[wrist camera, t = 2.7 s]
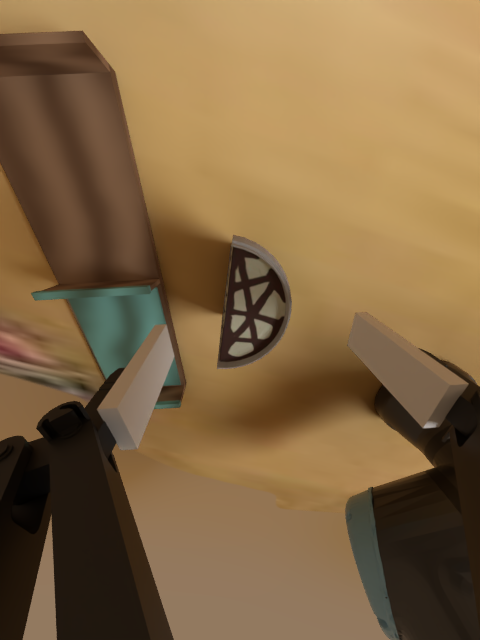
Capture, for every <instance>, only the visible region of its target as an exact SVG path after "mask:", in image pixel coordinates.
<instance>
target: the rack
mask: <svg viewBox="0 0 480 640" xmlns="http://www.w3.org/2000/svg"><path fill="white" fill-rule="evenodd" d="M0 163H1V165H2V167H3V169H4V171H5V173H6V175H7V177H8V179H9V181H10V184H11V186H12V188H13V190H14V192H15V194H16V196H17V198H18V200H19V202H20V204H21V206H22V208H23V211H24V213H25V215H26V217H27V219H28V221H29V223H30V225H31V227H32V229H33V231H34V233H35V235H36V238H37V240H38V242H39V244H40V246H41V248H42V250H43V252H44V254H45V256H46V258H47V260H48V263H49V265H50V267H51V269H52V271H53V273H54V275H55V277H56V279H57V281H58V283H59V285H56V286H53V287H51V288H48V289H45V290H43V291H36V292H33V293H31V294H32V296H33V298H34V300H52V299H66V300H67V302H68V304H69V306H70V308H71V310H72V312H73V315H74V317H75V319H76V321H77V323H78V325H79V327H80V329H81V331H82V333H83V335H84V337H85V339H86V342H87V344H88V346H89V348H90V350H91V352H92V354H93V356H94V358H95V360H96V362H97V364H98V366H99V369H100V371H101V373H102V375H103V377H104V379H105V381H106V379H107V378H108V377H109V375H110V374H112V373H113V372H114V371H116V370H117V369H118V368H126V366H127V365H128V364H129V362H130V361H131V359H132V358H133V356H134V355H135V353H136V352H137V350H138V349H139V348H140V346H141V345H142V343H143V342H144V340H145V339H146V337H147V336H148V335H149V333H150V332H151V330H152V329H153V327H154V326H155V325H162V324H166V325H167V329H168V333H169V336H170V340H171V344H172V348H173V352H174V359H173V361H172V364H171V366H170V369H169V371H168V374H167V376H166V379H165V382H164V384H163V387H162V389H161V392H160V394H159V397H158V399H157V402H156V404H155V407H154V409H163V408H179V407H180V406H181V401H182V398H183V394H184V390H185V387H186V379H185V375H184V370H183V366H182V362H181V357H180V353H179V349H178V344H177V340H176V336H175V331H174V327H173V322H172V318H171V314H170V309H169V305H168V301H167V296H166V292H165V288H164V283H163V279H162V275H161V270H160V266H159V262H158V257H157V253H156V248H155V244H154V240H153V235H152V231H151V227H150V222H149V218H148V214H147V209H146V205H145V201H144V196H143V192H142V188H141V183H140V179H139V174H138V170H137V166H136V161H135V157H134V153H133V148H132V144H131V140H130V135H129V131H128V127H127V122H126V118H125V114H124V109H123V105H122V101H121V96H120V92H119V87H118V83H117V79H116V74H115V71H114V70H113V69H112V67H111V66H110V65H109V64H108V62H107V61H106V60H105V58H104V57H103V56H102V55H101V53H100V52H99V51H98V50H97V48H96V47H95V46H94V45H93V43H92V42H91V41H90V40H89V38H88V37H87V36H86V34H85V33H84V32H83V31H66V32H41V33H17V34H0Z"/></svg>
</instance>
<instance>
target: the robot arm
mask: <svg viewBox="0 0 480 640" xmlns="http://www.w3.org/2000/svg"><path fill="white" fill-rule="evenodd" d="M347 346H348V347H349V348H350V349H351V350H352V351H353V352H354V353H355V354H356V355H357V356H358V358H359V359H360V360H361V361H362V362H363V363H364V364H365V365H366V366H367V367H368V369H369V370H370V371H371V372H372V373H373V374H374V375H375V376H376V377H377V378H378V380H379V381H380V382H381V383H382V384H383V386H382V388H381V389H380V390H379V392H378V394H377V396H376V399H375V409H376V411H377V413H378V414H379V415H380V417H381V418H382V419H383V421H384V422H385V423H386V424H387V425H388V426H389V427H391V428H392V429H394V430H396V431H397V432H399V433H400V434H401V435H402V436H403V437H404V438H406V439H407V440H408V441H409V442H410V443H412V444H413V445H414V446H415V447H416V448H418V449H419V450H420V451H421V452H422V453H423V454H424V455H425V456H426V458H427V459H428V460H429V461H430V462H431V464H432V465H433V466H434V467H435V468H432V469H429V470H426V471H423V472H420V473H417V474H414V475H411V476H408V477H405V478H401V479H398V480H395V481H392V482H389V483H386V484H383V485H380V486H377V487H374V488H373V487H370V488H368V490H366V491H364V492H361V493H359V494H357V495H354V496H352V497H350V498H349V499H348V501H347V503H346V508H345V515H346V523H347V529H348V534H349V538H350V543H351V547H352V551H353V554H354V558H355V561H356V564H357V568H358V571H359V574H360V577H361V580H362V583H363V586H364V589H365V592H366V594H367V597H368V600H369V602H370V605H371V607H372V610H373V612H374V614H375V615H376V616H377V619H378V621H379V624H380V627H381V628H382V630H383V632H384V633H385V635H386V636H387V637H388V638H389V639H391V640H480V387H479V386H478V385H477V383H476V382H475V380H474V379H473V378H472V377H471V376H470V375H469V374H468V373H466V372H465V371H463V370H462V369H460V368H459V367H457V366H456V365H454V364H452V363H449V362H444V361H440V360H439V359H438V358H437V357H435V356H434V355H432V354H431V353H429V352H426V351H424V350H422V349H420V348H417V347H416V346H414V345H413V344H411V343H410V342H408V341H407V340H406V339H404V338H403V337H401V336H400V335H398V334H397V333H396V332H394V331H393V330H391V329H390V328H388V327H387V326H386V325H384V324H383V323H381V322H380V321H378V320H377V319H376V318H374V317H373V316H371V315H370V314H368V313H367V312H359V313H355V317H354V321H353V325H352V329H351V333H350V337H349V340H348V344H347ZM173 359H174V352H173V348H172V344H171V340H170V336H169V333H168V329H167V325H166V324H162V325H155V326H154V327H153V329H152V330H151V332H150V333H149V335H148V336H147V337H146V339H145V340H144V342H143V343H142V345H141V346H140V348H139V349H138V350H137V352H136V353H135V355H134V356H133V358H132V359H131V361H130V362H129V364H128V365H127V366H126V368H118V369H117V370H116V371H114V372H113V373H112V374H110V375H109V377H108V378H107V379H106V381H105V382H104V384H103V385H102V386H101V387H100V389H99V391H97V393H96V394H95V395H94V397H93V398H92V399H91V401H90V402H89V403H88V404H87V406H86V407H85V408H84V407H83V405H82V404H81V403H80V402H77V401H73V402H67V403H64V404H61V405H59V406H57V407H55V408H54V409H52V410H50V411H49V412H48V413H47V414H46V415H44V416H43V417H42V419H41V420H40V421H39V422H38V425H37V430H38V431H39V432H40V433H41V434H42V435H43V438H40V439H37V440H34V441H31V442H27V441H26V439H24V437H23V436H13V437H10V438H7V439H5V440H2V441H0V640H22V639H23V634H24V630H25V626H26V622H27V617H28V613H29V608H30V604H31V600H32V596H33V591H34V587H35V583H36V578H37V574H38V569H39V565H40V561H41V557H42V552H43V548H44V543H45V539H46V535H47V530H48V526H49V521H50V517H51V513H52V535H53V559H54V582H55V604H56V626H57V627H56V628H57V640H174V639H173V636H172V633H171V630H170V627H169V624H168V621H167V618H166V615H165V612H164V608H163V605H162V602H161V599H160V596H159V593H158V590H157V587H156V584H155V581H154V578H153V575H152V572H151V568H150V565H149V562H148V559H147V556H146V553H145V550H144V547H143V544H142V541H141V538H140V535H139V532H138V529H137V525H136V522H135V519H134V516H133V513H132V510H131V507H130V504H129V501H128V498H127V495H126V492H125V489H124V486H123V482H122V480H121V477H120V473H119V471H118V467H117V464H116V461H115V458H114V455H113V454H112V450H113V448H114V446H115V444H116V443H117V445H118V447H119V448H120V450H131V449H138V447H139V444H140V442H141V439H142V437H143V434H144V432H145V429H146V427H147V424H148V422H149V419H150V417H151V414H152V412H153V409H154V407H155V404H156V402H157V399H158V397H159V394H160V392H161V389H162V387H163V384H164V382H165V379H166V376H167V374H168V371H169V369H170V366H171V364H172V361H173Z"/></svg>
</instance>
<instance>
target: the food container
mask: <svg viewBox="0 0 480 640" xmlns="http://www.w3.org/2000/svg"><path fill="white" fill-rule="evenodd" d="M291 304H292V301H291V294H290V287H289V283H288V280H287V277H286V274H285V272H284V271H283V269H282V267H281V265H280V264H279V263H278V261H277V260H276V259H275V257H274V256H273V255H272V254H270V253H269V252H268V251H267V250H266V249H265V248H263V247H262V246H260V245H259V244H257V243H256V242H253V241H251V240H249V239H246V238H244V237H240V236H236V235H233V240H232V244H231V249H230V257H229V265H228V274H227V282H226V291H225V299H224V307H223V316H222V325H221V335H220V345H219V354H218V363H217V369H230V368H237V367H242V366H245V365H248V364H251V363H253V362H255V361H257V360H259V359H261V358H262V357H264V356H265V355H267V354H268V353H269V352H270V351H271V350H272V349H273V348H274V347H275V346H276V345H277V344H278V342H279V341H280V340H281V338H282V336H283V335H284V333H285V330H286V328H287V326H288V323H289V320H290V315H291Z"/></svg>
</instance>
